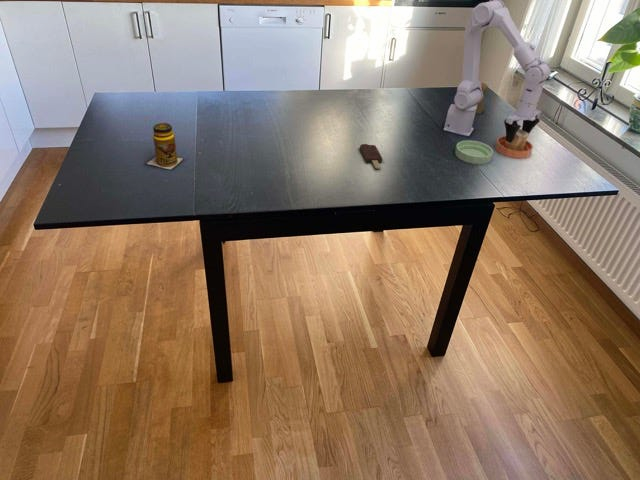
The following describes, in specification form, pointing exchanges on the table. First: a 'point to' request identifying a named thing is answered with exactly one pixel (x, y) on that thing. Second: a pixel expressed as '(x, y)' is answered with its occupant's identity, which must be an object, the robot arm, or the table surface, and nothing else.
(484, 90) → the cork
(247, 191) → the table surface
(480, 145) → the celadon bowl
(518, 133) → the box
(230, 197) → the table surface
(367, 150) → the ice cream bar
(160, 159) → the condiment
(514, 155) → the terracotta bowl
